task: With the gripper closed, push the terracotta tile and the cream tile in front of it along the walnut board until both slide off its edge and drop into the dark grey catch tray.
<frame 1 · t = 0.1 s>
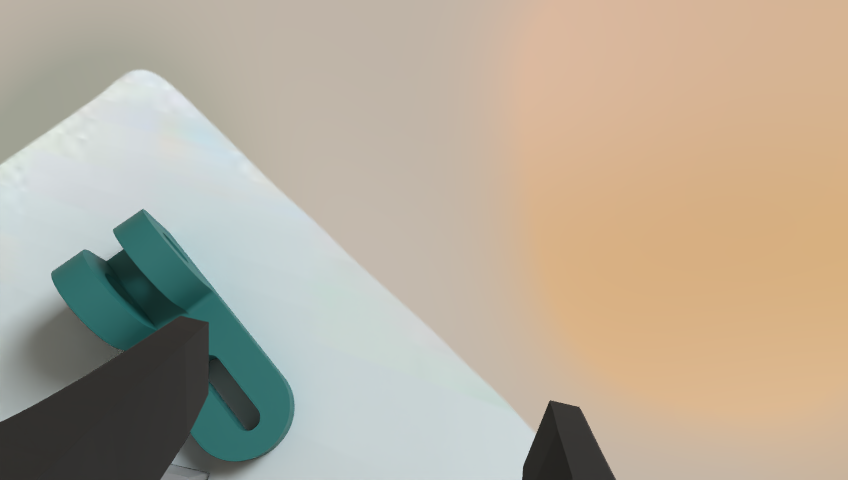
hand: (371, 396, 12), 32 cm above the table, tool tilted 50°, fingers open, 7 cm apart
bracket: (202, 350, 44), on the table
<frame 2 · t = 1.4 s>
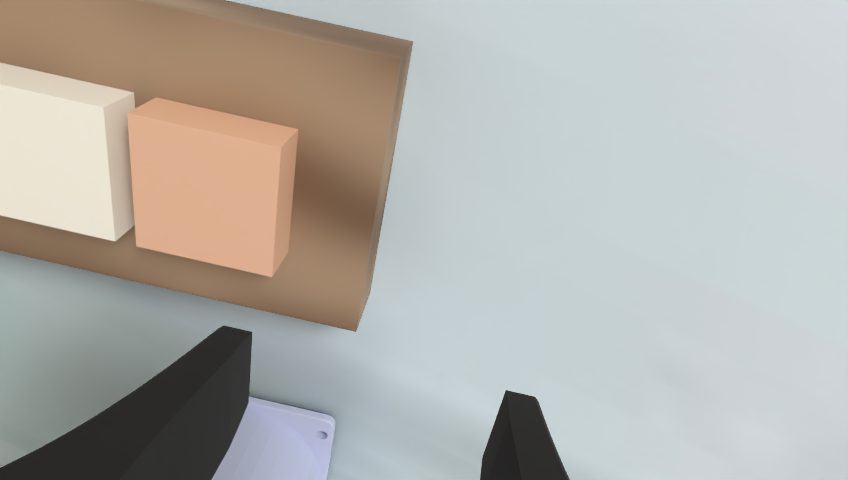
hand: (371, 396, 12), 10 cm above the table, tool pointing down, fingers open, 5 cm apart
cream tile: (71, 144, 19), point 2 cm above the table, touching walnut board
terracotta tile: (225, 179, 19), point 2 cm above the table, touching walnut board
walnut board: (187, 136, 22), on the table
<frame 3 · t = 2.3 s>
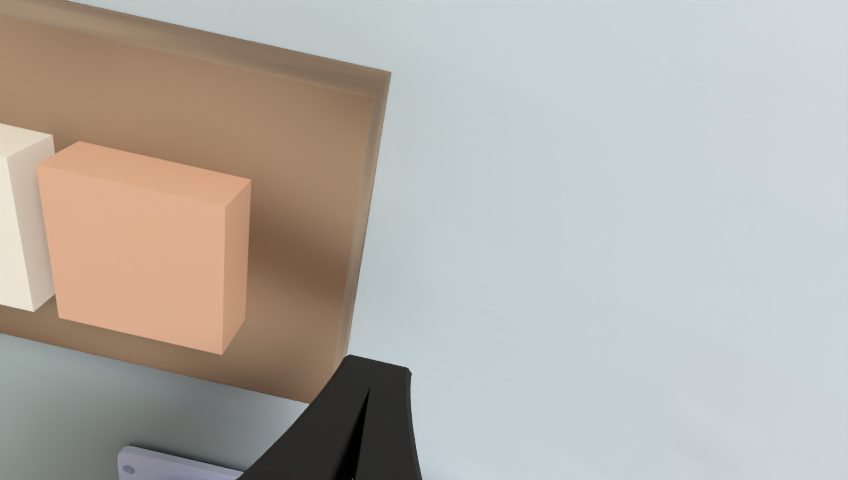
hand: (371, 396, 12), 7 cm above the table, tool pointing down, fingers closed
terracotta tile: (167, 236, 16), point 2 cm above the table, touching walnut board
walnut board: (129, 180, 18), on the table
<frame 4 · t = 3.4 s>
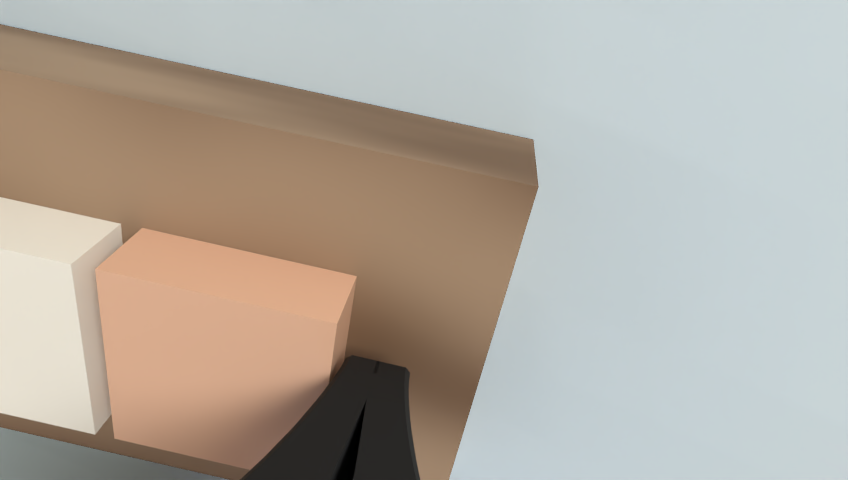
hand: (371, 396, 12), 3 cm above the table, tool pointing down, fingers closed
cream tile: (31, 288, 13), point 2 cm above the table, touching walnut board
terracotta tile: (245, 336, 13), point 3 cm above the table, touching gripper
walnut board: (198, 258, 15), on the table
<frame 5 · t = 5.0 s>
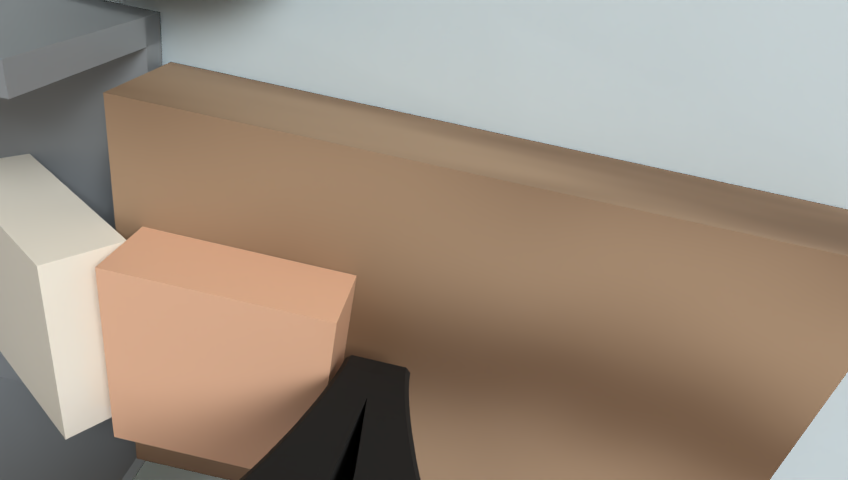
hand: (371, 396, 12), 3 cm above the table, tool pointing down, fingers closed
cream tile: (84, 278, 14), point 2 cm above the table, tilted 33°, touching terracotta tile
terracotta tile: (245, 335, 13), point 3 cm above the table, touching cream tile, gripper, walnut board
walnut board: (458, 316, 15), on the table
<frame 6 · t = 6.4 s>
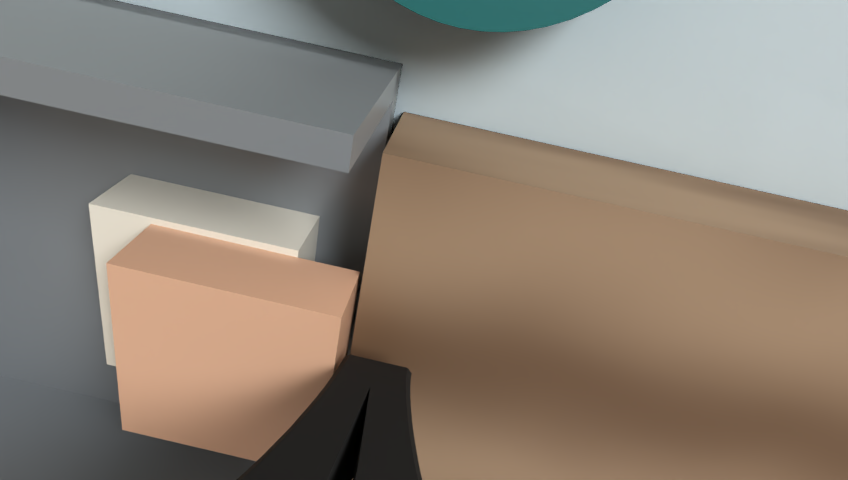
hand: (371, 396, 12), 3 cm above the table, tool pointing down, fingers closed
cream tile: (223, 274, 15), point 1 cm above the table, touching catch tray, terracotta tile
catch tray: (143, 244, 15), on the table
terracotta tile: (250, 330, 14), point 2 cm above the table, touching cream tile, gripper
walnut board: (656, 361, 15), on the table
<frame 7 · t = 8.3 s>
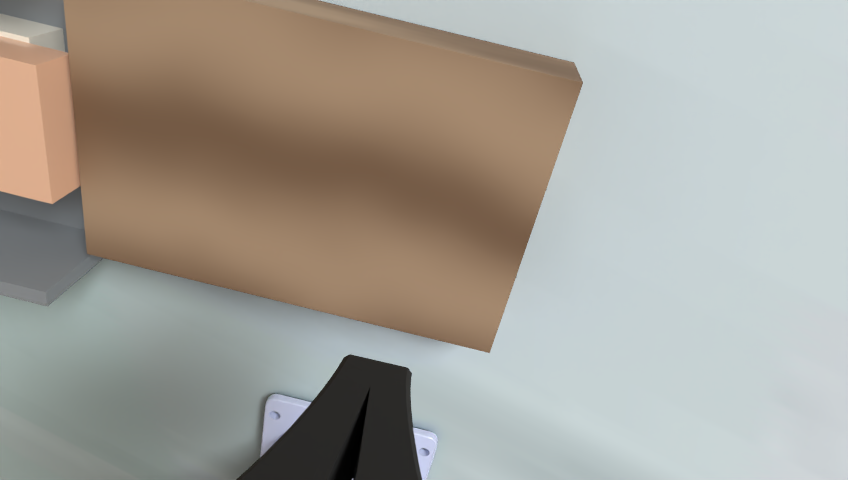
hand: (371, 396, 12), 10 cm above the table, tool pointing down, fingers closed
cream tile: (6, 79, 21), point 1 cm above the table, touching catch tray, terracotta tile
terracotta tile: (10, 106, 19), point 2 cm above the table, touching cream tile
walnut board: (323, 152, 21), on the table
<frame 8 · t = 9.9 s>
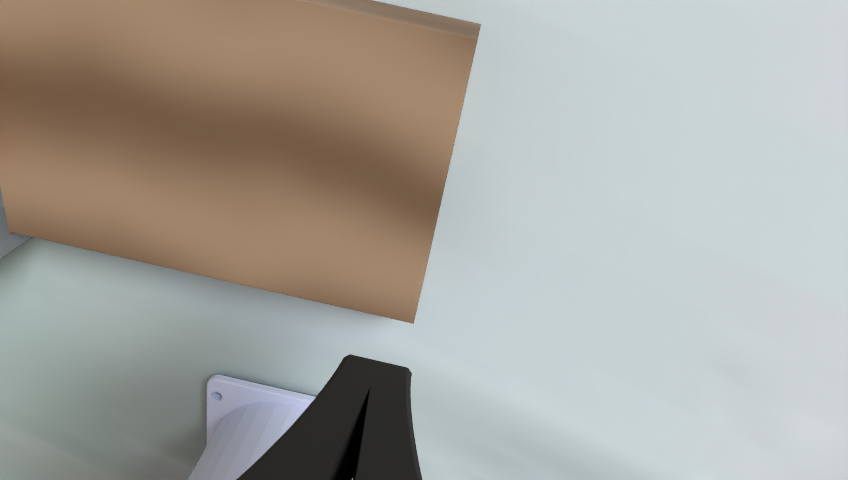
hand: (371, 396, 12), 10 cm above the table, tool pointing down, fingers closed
walnut board: (241, 124, 21), on the table
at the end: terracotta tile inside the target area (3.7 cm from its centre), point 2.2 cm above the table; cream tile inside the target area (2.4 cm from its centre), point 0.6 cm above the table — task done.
